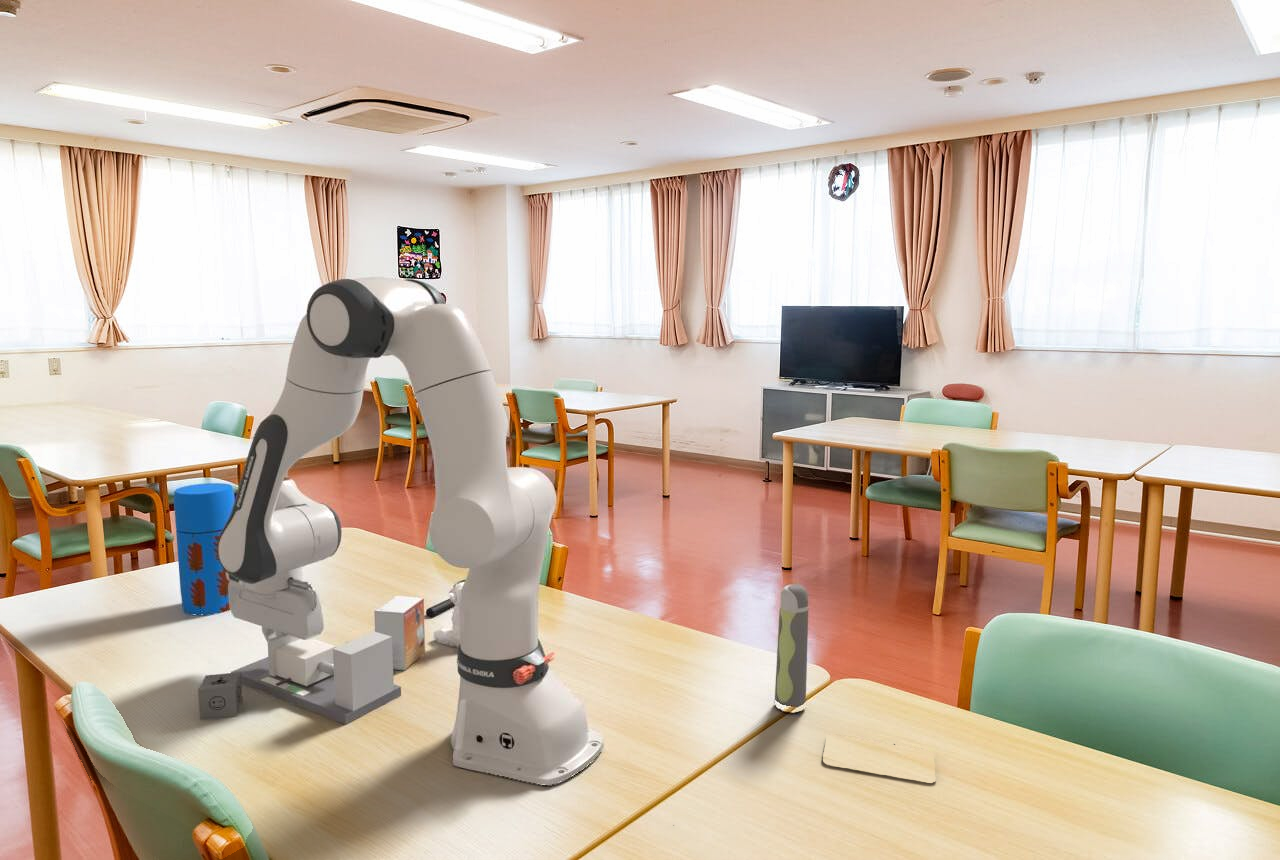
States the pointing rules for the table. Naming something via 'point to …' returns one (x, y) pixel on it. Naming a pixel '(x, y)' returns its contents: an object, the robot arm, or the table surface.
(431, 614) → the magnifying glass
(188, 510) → the thermos
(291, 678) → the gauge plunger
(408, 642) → the small box
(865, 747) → the table surface
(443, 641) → the white creature statuette
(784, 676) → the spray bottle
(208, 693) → the dice cube
